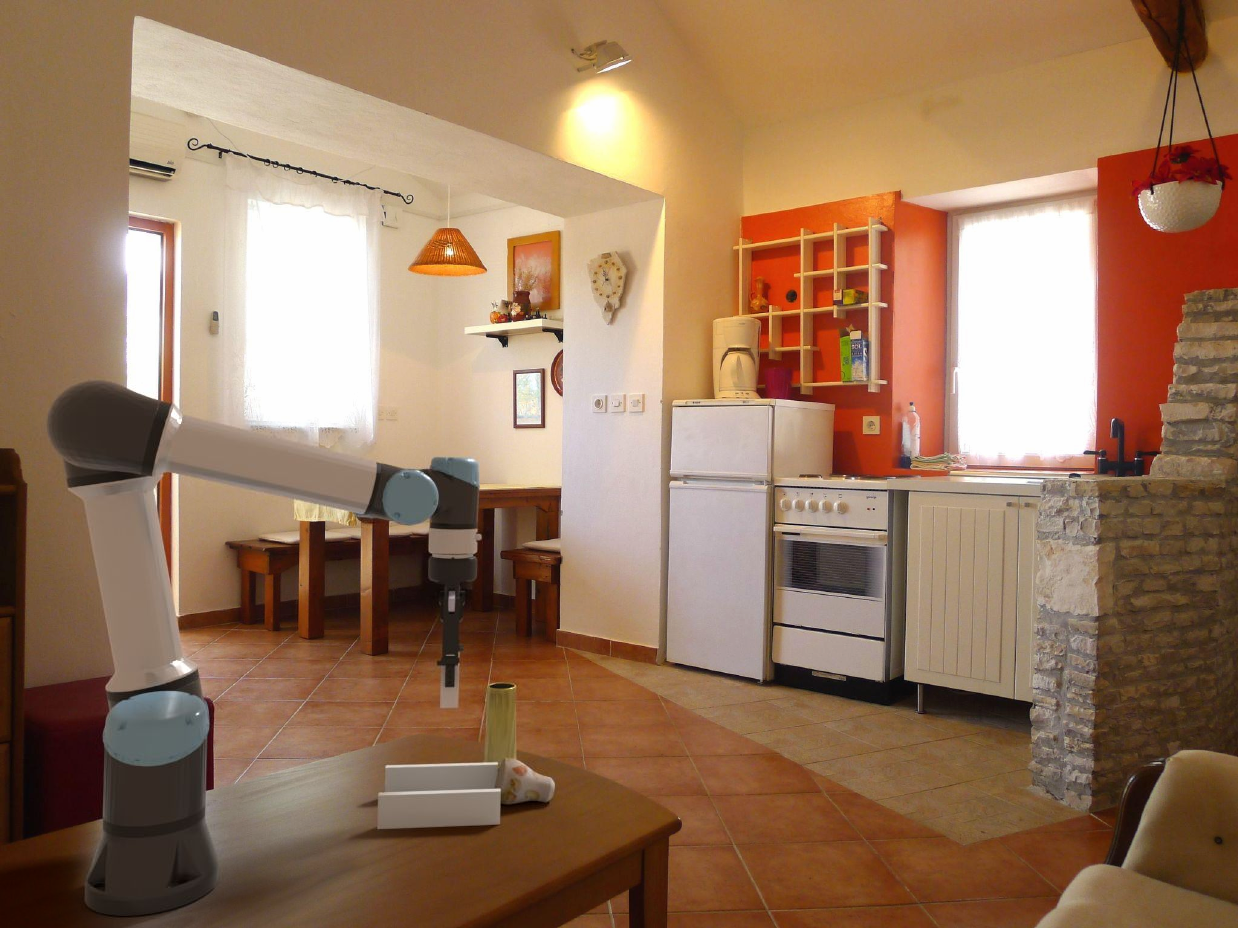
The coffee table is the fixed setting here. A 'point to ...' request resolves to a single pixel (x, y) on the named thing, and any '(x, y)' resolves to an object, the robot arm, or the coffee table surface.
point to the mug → (522, 783)
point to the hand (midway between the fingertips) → (449, 699)
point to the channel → (439, 795)
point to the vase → (500, 723)
